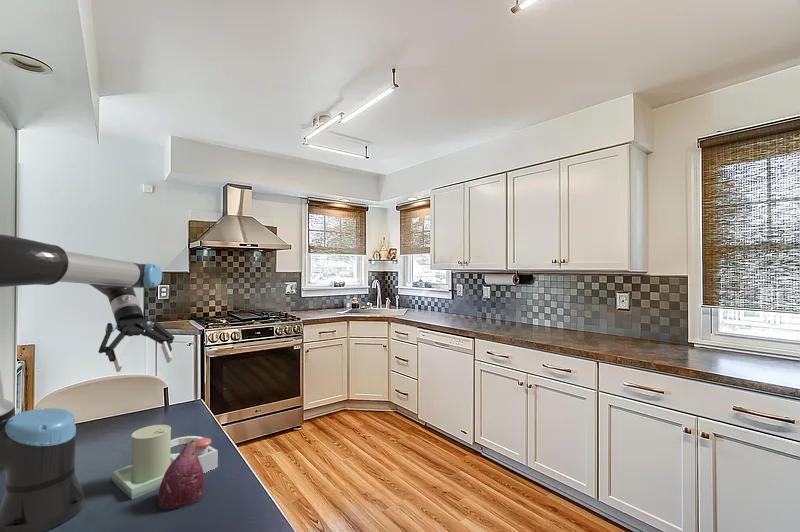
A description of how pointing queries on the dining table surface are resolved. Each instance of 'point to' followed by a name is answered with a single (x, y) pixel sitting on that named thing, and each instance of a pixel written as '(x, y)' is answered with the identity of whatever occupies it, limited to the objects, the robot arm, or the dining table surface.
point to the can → (150, 452)
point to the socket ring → (183, 441)
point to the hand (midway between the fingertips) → (145, 364)
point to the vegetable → (182, 480)
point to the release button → (202, 445)
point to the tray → (132, 488)
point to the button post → (209, 459)
